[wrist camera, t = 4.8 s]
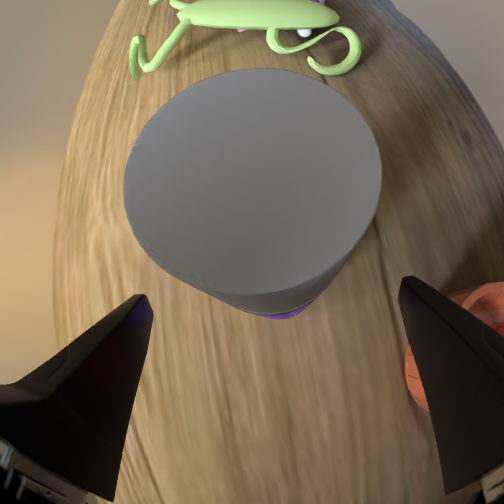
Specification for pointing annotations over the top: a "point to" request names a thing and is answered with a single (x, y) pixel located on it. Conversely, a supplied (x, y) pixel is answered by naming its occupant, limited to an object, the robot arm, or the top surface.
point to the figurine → (251, 28)
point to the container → (254, 187)
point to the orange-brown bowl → (477, 303)
